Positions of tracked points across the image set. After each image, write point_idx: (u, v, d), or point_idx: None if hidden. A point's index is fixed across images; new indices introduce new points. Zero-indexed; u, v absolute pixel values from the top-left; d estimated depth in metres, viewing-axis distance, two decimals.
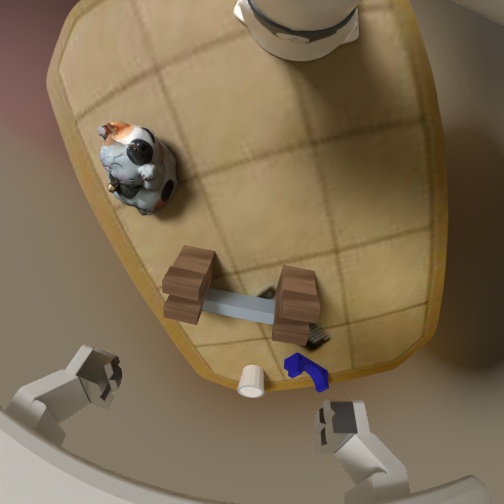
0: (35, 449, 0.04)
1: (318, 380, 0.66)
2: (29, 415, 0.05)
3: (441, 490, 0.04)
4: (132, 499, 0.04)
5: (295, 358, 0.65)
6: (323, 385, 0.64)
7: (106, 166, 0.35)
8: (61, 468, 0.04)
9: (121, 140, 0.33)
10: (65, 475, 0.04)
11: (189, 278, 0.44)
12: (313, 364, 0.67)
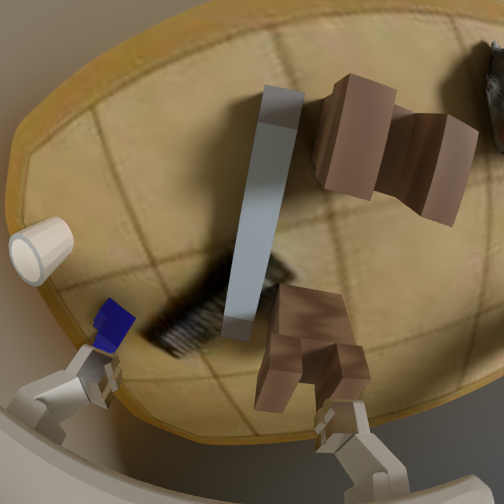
0: (35, 449, 0.04)
1: None
2: (29, 415, 0.05)
3: (441, 490, 0.04)
4: (132, 499, 0.04)
5: (127, 322, 0.33)
6: None
7: None
8: (61, 468, 0.04)
9: None
10: (65, 475, 0.04)
11: None
12: None
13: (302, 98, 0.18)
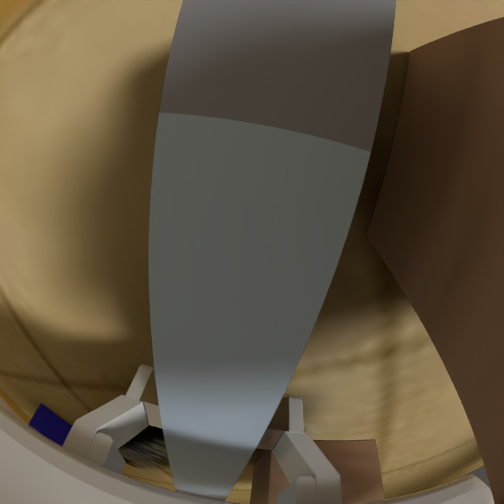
0: (35, 449, 0.04)
1: None
2: (93, 451, 0.05)
3: (441, 490, 0.04)
4: (132, 499, 0.04)
5: None
6: None
7: None
8: (61, 468, 0.04)
9: None
10: (65, 475, 0.04)
11: None
12: None
13: (389, 1, 0.02)
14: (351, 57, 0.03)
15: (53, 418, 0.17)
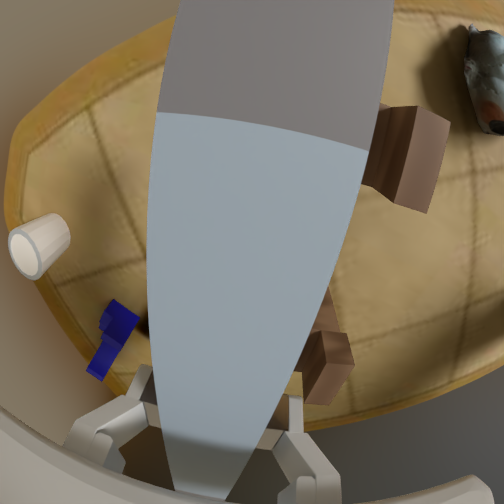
0: (35, 449, 0.04)
1: (103, 360, 0.36)
2: (93, 451, 0.05)
3: (441, 490, 0.04)
4: (132, 499, 0.04)
5: (131, 322, 0.34)
6: (102, 374, 0.35)
7: None
8: (61, 468, 0.04)
9: None
10: (65, 475, 0.04)
11: None
12: None
13: (387, 0, 0.02)
14: (349, 56, 0.03)
15: (122, 308, 0.35)
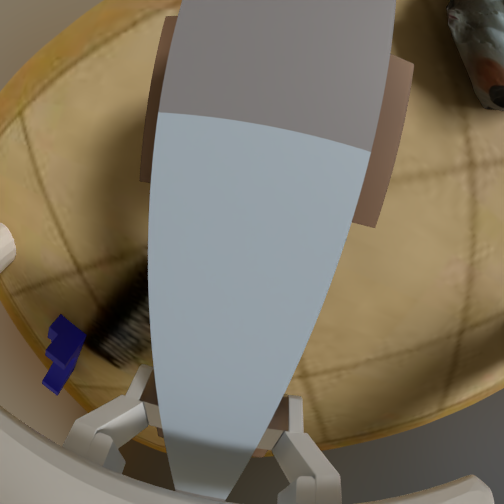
0: (35, 449, 0.04)
1: (57, 375, 0.31)
2: (93, 451, 0.05)
3: (441, 490, 0.04)
4: (132, 499, 0.04)
5: (76, 339, 0.29)
6: (56, 388, 0.30)
7: None
8: (61, 468, 0.04)
9: None
10: (65, 475, 0.04)
11: None
12: (76, 358, 0.32)
13: (389, 1, 0.02)
14: (351, 57, 0.03)
15: (68, 324, 0.29)
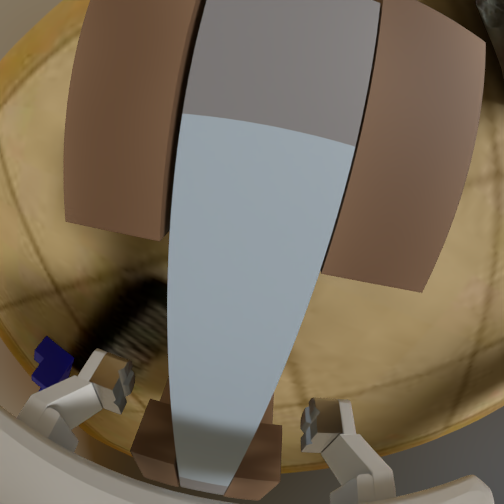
0: (35, 449, 0.04)
1: None
2: (42, 423, 0.05)
3: (441, 490, 0.04)
4: (132, 499, 0.04)
5: (63, 363, 0.25)
6: None
7: None
8: (61, 468, 0.04)
9: None
10: (65, 475, 0.04)
11: None
12: None
13: (373, 20, 0.03)
14: (339, 69, 0.04)
15: (55, 347, 0.26)
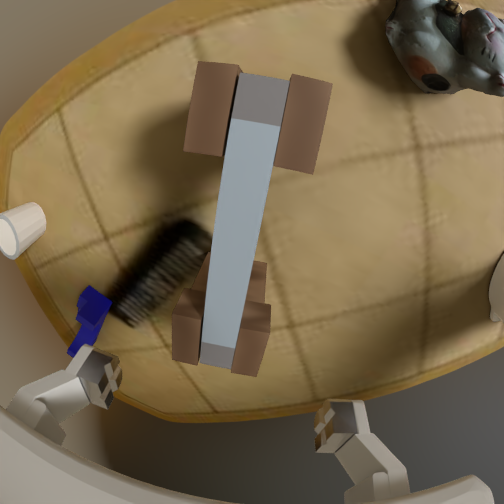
0: (35, 449, 0.04)
1: (82, 343, 0.39)
2: (29, 415, 0.05)
3: (441, 490, 0.04)
4: (132, 499, 0.04)
5: (103, 305, 0.37)
6: None
7: (492, 21, 0.10)
8: (61, 468, 0.04)
9: None
10: (65, 475, 0.04)
11: None
12: (100, 326, 0.40)
13: (286, 87, 0.15)
14: (275, 105, 0.15)
15: (96, 293, 0.37)
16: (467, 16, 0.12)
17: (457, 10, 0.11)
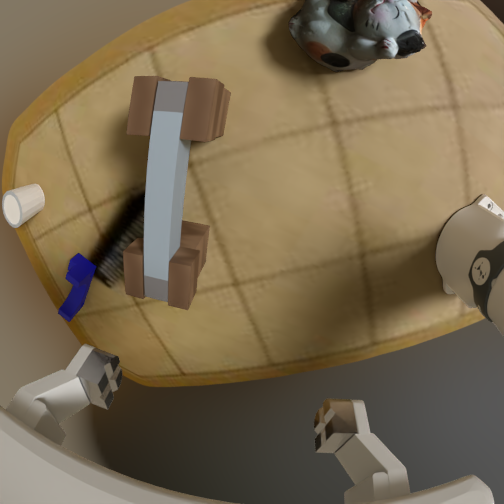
0: (35, 449, 0.04)
1: (71, 305, 0.46)
2: (29, 415, 0.05)
3: (441, 490, 0.04)
4: (132, 499, 0.04)
5: (89, 268, 0.44)
6: (69, 314, 0.45)
7: None
8: (61, 468, 0.04)
9: None
10: (65, 475, 0.04)
11: (213, 120, 0.25)
12: (87, 289, 0.47)
13: (186, 86, 0.22)
14: (179, 99, 0.22)
15: (84, 259, 0.45)
16: None
17: None
